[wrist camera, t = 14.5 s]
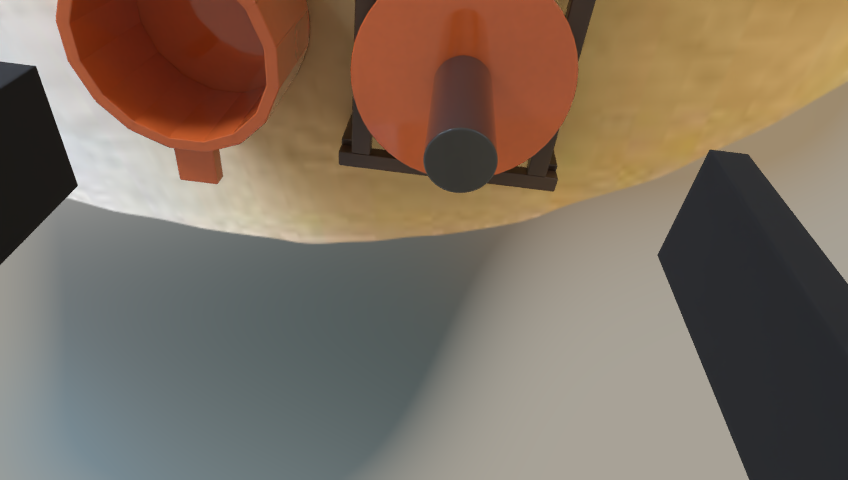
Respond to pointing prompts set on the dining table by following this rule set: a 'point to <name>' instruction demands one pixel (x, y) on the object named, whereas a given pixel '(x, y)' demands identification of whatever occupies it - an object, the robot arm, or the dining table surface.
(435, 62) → the lid
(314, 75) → the dining table surface
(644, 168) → the dining table surface
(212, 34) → the pot
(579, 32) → the rack
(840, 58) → the dining table surface
